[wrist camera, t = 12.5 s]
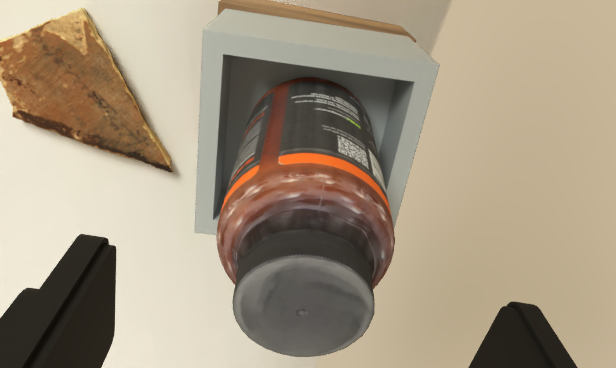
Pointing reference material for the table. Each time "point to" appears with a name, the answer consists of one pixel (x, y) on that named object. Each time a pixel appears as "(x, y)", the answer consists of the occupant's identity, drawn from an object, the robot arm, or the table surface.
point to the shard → (76, 89)
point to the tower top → (297, 64)
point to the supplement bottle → (306, 220)
